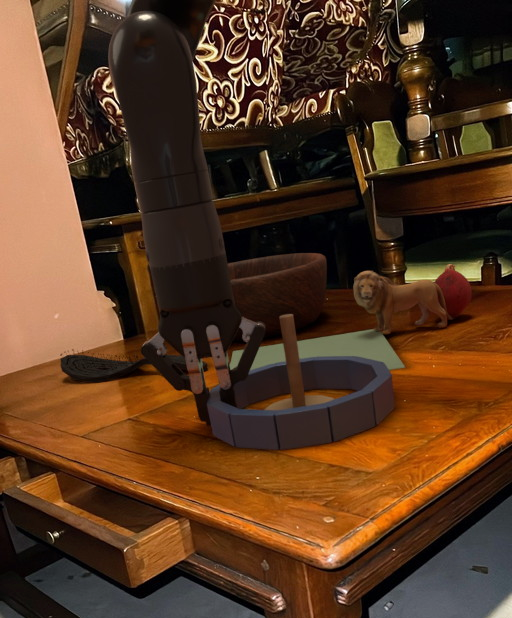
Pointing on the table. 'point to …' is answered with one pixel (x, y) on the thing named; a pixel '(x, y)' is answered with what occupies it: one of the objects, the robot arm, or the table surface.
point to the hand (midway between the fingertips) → (219, 421)
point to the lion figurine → (397, 299)
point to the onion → (454, 291)
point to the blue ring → (307, 419)
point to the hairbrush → (107, 366)
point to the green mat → (330, 349)
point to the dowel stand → (294, 371)
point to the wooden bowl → (279, 289)
